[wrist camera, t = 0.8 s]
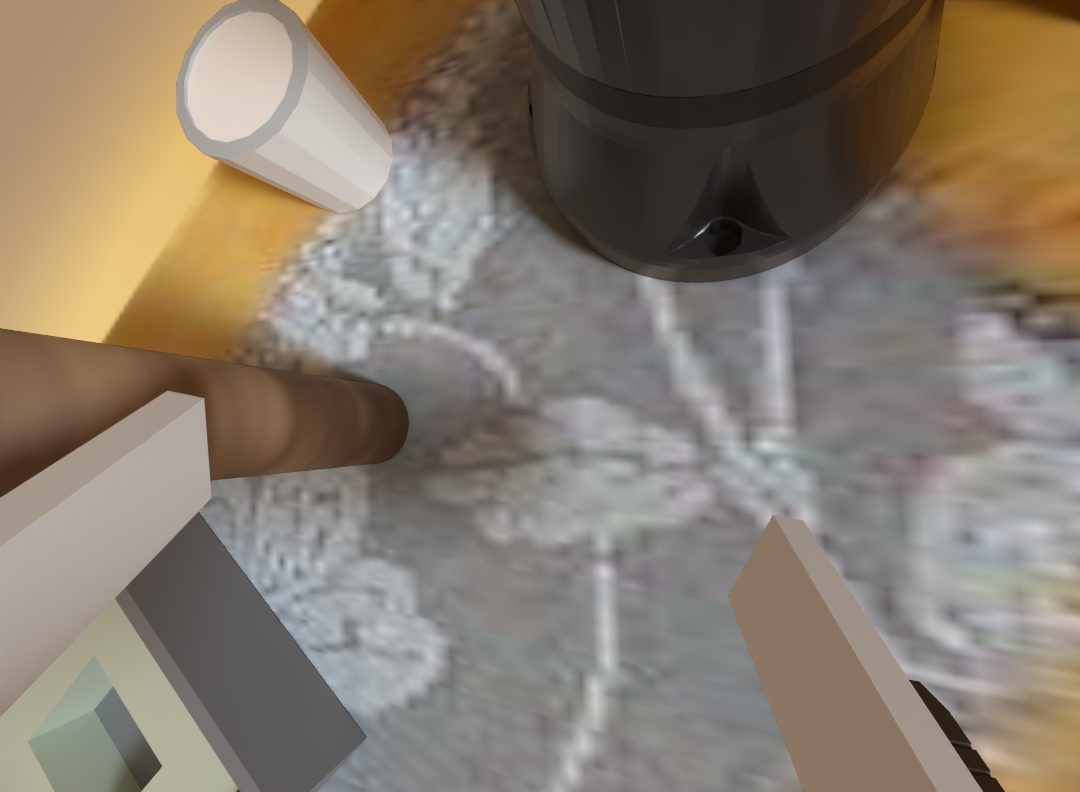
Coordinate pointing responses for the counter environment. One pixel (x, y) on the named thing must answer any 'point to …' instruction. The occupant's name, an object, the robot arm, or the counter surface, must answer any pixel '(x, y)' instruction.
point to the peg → (227, 388)
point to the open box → (179, 692)
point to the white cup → (281, 108)
